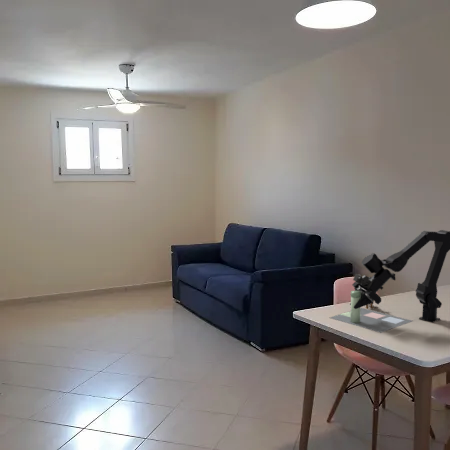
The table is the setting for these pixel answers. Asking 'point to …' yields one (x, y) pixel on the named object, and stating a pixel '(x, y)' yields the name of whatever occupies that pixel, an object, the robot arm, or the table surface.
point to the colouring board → (373, 320)
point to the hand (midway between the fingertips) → (352, 306)
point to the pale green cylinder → (354, 312)
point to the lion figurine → (370, 305)
